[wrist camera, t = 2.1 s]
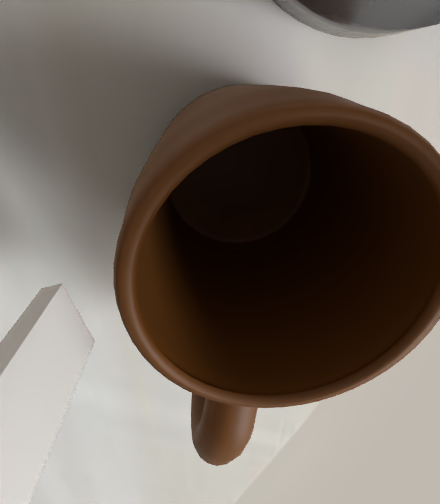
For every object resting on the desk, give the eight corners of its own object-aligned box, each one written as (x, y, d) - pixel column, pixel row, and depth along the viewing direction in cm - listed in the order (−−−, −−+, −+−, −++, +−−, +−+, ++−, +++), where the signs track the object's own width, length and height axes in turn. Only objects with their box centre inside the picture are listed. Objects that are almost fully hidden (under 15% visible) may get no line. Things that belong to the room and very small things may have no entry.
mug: (266, 322, 19) (321, 506, 11) (136, 305, 18) (88, 498, 10) (345, 106, 14) (569, 149, 6) (168, 61, 13) (119, 29, 4)
